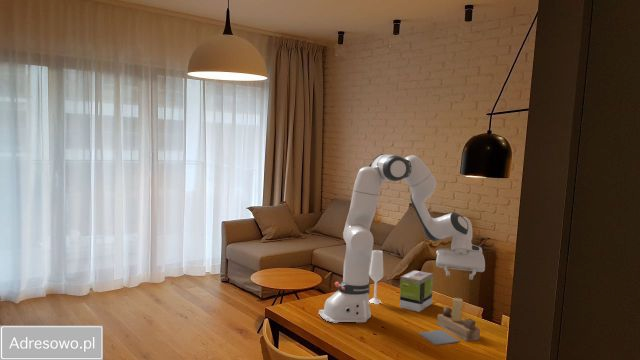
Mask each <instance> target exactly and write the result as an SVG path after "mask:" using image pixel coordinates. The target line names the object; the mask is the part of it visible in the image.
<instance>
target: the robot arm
mask: <svg viewBox="0 0 640 360" xmlns="http://www.w3.org/2000/svg"><path fill="white" fill-rule="evenodd" d="M354 180H355V181H354V185H353V187H352V188H353V189H352V193H351V201H350V205H349V211H348V214H347V216H346V220H345V224H344V228H343V232H342V237H343V240H344V242H345V246H346V247H345V253H344V254H345V255H344V261H343V272H342V273H343V276H342V281H341V282H339V281H335V282H334V286H335V287H336V288H338V290H336V292H334V293H333V294H332V295H331V296H329V297H328V298H327V299H326V300H325V302H324V306H323V309H319V310H318V315H319V314H320V316H321V317H322V318H323V319H325V320H326V321H325V320H324V321H325V322H327V321H329V322H333V323H332V324H339V323H338V322H356V323H366V322H367V321H368V320H369V319H370V318H371V317H372V313H371V309H370V303H369V300H370V297H369V296H370V290H371V288H370V287H371V284H370V276H369V271H370V263H371V256H372V251H373V247H374V242H375V241H374V239H375V238H374V236H373V233H372V231H370V230H371V225H372V223H373V220H374V216H375V215H376V213H377V208H378V201H379V195H380V189H381V186H382V184H383V182H384V181H389V182H390V181H391V182H397V181H402V180H404V181H405V182H406V183H407V185H408V187H409V188H410V191H411V194H410V196H409V197H410V202H411V205H412V207H413V209H414V211H415V213H416V215H417V217H418V219H419V222H420V223H421V226H422V229H423V232H424V234H425V237H426V238H427V239H429V240H430V241H432V242H438V241H440V240H441V241H442V240H443V239H446V238H449V237H451V238H452V239H451V244H450V248H444V247H440V248H438V249H437V250H436V253H435V254H436V260H435V266H436V267H437V268H440V269H443V271H444V272H445V277H450V276H451V271H449V270H448V269H451V270H459V271H460V270H461V271H468V272H472V273H469V274H468V275H469V277H468V280H473V279H474V276H475V275H476V274H477V272H479V273H483V272H485V270H486V261H485V256H484V254H483V248H482V247H481V246H478V245H475V244H472V241H473V224H472V222H471V220H470V218H468V217H466V216H462V215H461V214H460V213H457V212H450V213H447V214H444V215H442V216H438V217H432V216H431V214H430V213H429V209H428V208H427V205H426V201H427V200H428V199H429V198H430V197H431V196H432V195H433V193H434V192H435V190H436V187H437V181H436V178H435V177H434V175H433V173H432V172H431V170H430V169H429V168H428V166H427V165H426V164H425V162H423V161H422V159H420V157H419V156H417V155H414V154H411V155H407V156H406V157H402V156H401V155H395V154H392V153H381V154H378V155H376V156H375V157H374V159H372V161H371V163H370V164H369V165H368V166H363V167H361V168H359V170H358V173H357V175H356V178H355V179H354ZM320 316H319V317H320ZM321 317H320V318H321ZM322 318H321V319H322ZM323 319H322V320H323ZM329 322H328V323H329Z"/></svg>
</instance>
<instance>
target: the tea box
mask: <svg viewBox="0 0 640 360" xmlns="http://www.w3.org/2000/svg"><path fill="white" fill-rule="evenodd" d="M433 281H434V273H432V272H427V271H426V272H425V271H419V270H415V269H414V270H411V271H410V272H408V273H407V272H406V274H403V275H402V276H401V275H400V289H399V291H400V292H399V293H400V294H399V307H400V308H402V309H405V310H409V311H413V312H418V313H419V312H421V311H423V310H425V309H426V308H428V307H429V306H431V305H432V304H433V289H434V288H433V287H434V286H433V285H434V282H433Z"/></svg>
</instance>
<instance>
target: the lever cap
mask: <svg viewBox="0 0 640 360" xmlns="http://www.w3.org/2000/svg"><path fill="white" fill-rule="evenodd" d="M462 311H463V298H457V297H453V298H452V307H451V313H452V321H453V322H460V323H461V319H462V316H463V315H462V314H463V312H462Z"/></svg>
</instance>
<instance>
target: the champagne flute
mask: <svg viewBox="0 0 640 360" xmlns="http://www.w3.org/2000/svg"><path fill="white" fill-rule="evenodd" d="M383 254H384V253H383V250H379V249H378V250H377V249H376V250H375V249H374V250H373V249H372V255H371V260H370V268H369V278H370V279H372V281H373V282H374V291H373V297H372V298H371V299H370V298H369V302H370V303H369V304H371V303H374V304H373V305H380V304H379V303H381V304H383V302H381V300H380V299H379V298H377V296H378V295H377V293H378V291H377V290H378V282H379V281H381V279H383V278H384V258H383Z"/></svg>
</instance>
